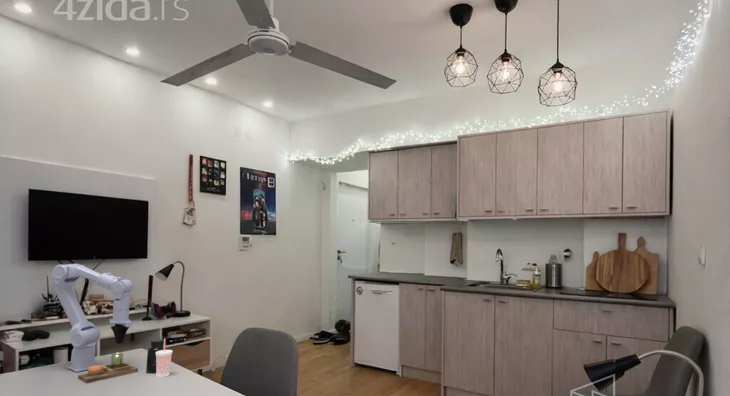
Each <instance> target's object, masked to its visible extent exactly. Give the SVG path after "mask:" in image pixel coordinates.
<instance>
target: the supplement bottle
mask: <svg viewBox="0 0 730 396" xmlns="http://www.w3.org/2000/svg"><path fill="white" fill-rule="evenodd" d="M160 350H164V339H162V338H158V339H152V340H151V341H150V347H149V348H148V349H147V354H146V365H145V366H146V367H145V368H146V369H145V371H146V373H148V374H156V352H157V351H160ZM165 350H167V347H165Z"/></svg>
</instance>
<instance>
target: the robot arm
mask: <svg viewBox="0 0 730 396" xmlns="http://www.w3.org/2000/svg"><path fill="white" fill-rule="evenodd" d="M50 276H51V279H52V280H53V287H54V292H55V294H56V296H57V298H58V300H59V302H60V304H61V307H62V308H63V310H64V313H65V315H66V317H67V319H68V321H69V323H70V326H71V329H70V331H69V332H68V334H69V336H70V337H69V338H70V343H71V345H72V347H73V348H72V350H71V354H70V355H71V356H70V366H67V369H69V370H71V371H74V372H75V373H78V372H83V371H88V367H89V366H93V365H95V359H96V358H95V355H96V345H97V342H98V341H99V340H100V338H101V331H100V330H99V328H98V327H96V326H95V324H94V323H93V322H91V321H89V320H88V318H87V317H86V314H85V313H84V310H83V308H82V307H81V305H80V303H79V300H78V298H77V296H76V294H75V292H74V290H73V286H74V285H75V284H76V282H77V281H78V280H79V279H80V278H81V277H82V278H84V279H88V280H90V281H93V282H95V283H96V284H97V286H98V287H101V288H103V289H106V290H108V291H111V293H112V298H113V306H112V307H113V308H112V318H109V321H108V322H109V325H111V324H112V325H111V326H110V329H111V330H112V333H113V335H114V340H115V343H116V344H117V345H120V344H123V343H124V341H125V337H126V334H127V332H128V330H129V329H130V327H133V321H132V320H131V319H129V317H130V313H129V312H130V294H131V293H130V292H131V291H132V290H133V288H134V285H133V281H131V280H130V279H129V278H125V279H122V277H121V276H118V277H117V276H115V275H113V274H112V273H111V272H104V273H100V272H98V271H96V270H93V269H91V268H89V267H87V266H85V265H84V264H79V263H72V264H71V263H69V264H56V265H55V266H54V267H53V269H52V273H51V274H50ZM113 324H114V325H113Z"/></svg>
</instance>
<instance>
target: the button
mask: <svg viewBox="0 0 730 396" xmlns="http://www.w3.org/2000/svg"><path fill="white" fill-rule="evenodd" d="M102 366H103V365H102V364H94V365H93V366H89V367H88V370H87V373H88V374H89V375H95V374H99V373H101V371H102Z"/></svg>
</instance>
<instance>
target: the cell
mask: <svg viewBox="0 0 730 396" xmlns="http://www.w3.org/2000/svg"><path fill="white" fill-rule="evenodd" d="M110 357H111V359H110V365H111V369H116V368H121V367H122V363H123V362H124V361H123V360H124V353H122V352H120V351H117V352H115V353H112V354H111V356H110Z"/></svg>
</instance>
